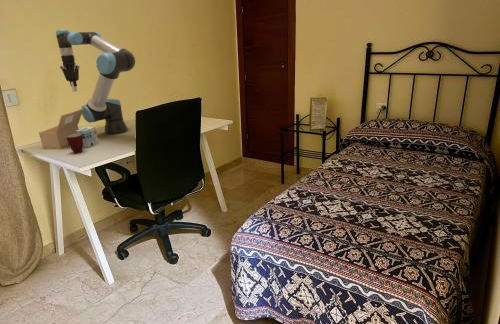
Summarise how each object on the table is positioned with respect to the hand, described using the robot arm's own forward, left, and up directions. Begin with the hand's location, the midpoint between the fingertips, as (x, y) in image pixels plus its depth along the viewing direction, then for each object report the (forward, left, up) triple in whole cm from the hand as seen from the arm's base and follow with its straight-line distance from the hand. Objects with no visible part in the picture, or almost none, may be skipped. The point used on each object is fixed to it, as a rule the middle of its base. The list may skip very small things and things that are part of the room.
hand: (75, 91), depth 233 cm
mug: (-23, +39, -30) cm, 54 cm away
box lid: (-10, +24, -14) cm, 30 cm away
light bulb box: (-22, +27, -30) cm, 46 cm away
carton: (-1, +24, -29) cm, 38 cm away
